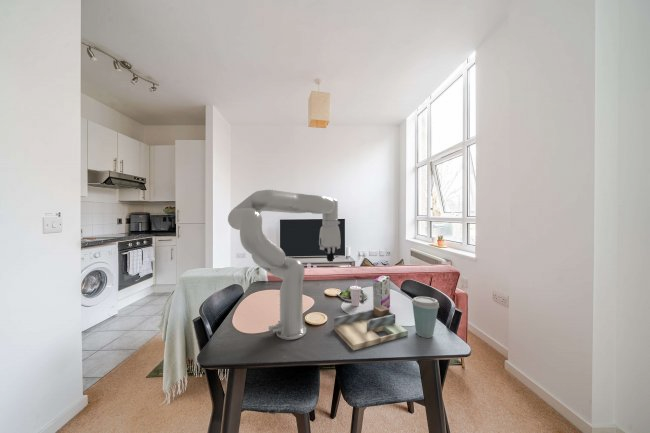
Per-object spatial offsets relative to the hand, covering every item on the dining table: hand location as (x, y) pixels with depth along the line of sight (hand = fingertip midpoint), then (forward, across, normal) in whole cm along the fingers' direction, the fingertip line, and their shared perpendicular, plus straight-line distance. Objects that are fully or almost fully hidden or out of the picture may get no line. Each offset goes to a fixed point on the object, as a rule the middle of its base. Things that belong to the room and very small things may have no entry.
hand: (330, 261), depth 116 cm
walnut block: (+25, -18, +17) cm, 35 cm away
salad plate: (+28, -23, -18) cm, 40 cm away
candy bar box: (+27, -28, +4) cm, 39 cm away
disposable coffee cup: (+27, -29, +32) cm, 51 cm away
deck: (+27, -8, +22) cm, 36 cm away
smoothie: (+27, -18, -6) cm, 33 cm away
